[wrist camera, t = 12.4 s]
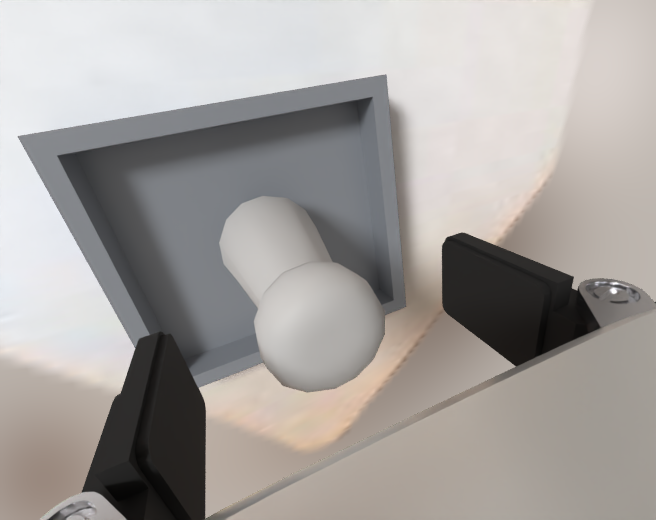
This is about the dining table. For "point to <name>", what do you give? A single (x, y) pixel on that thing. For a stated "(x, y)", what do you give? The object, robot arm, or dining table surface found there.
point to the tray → (224, 205)
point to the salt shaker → (301, 296)
